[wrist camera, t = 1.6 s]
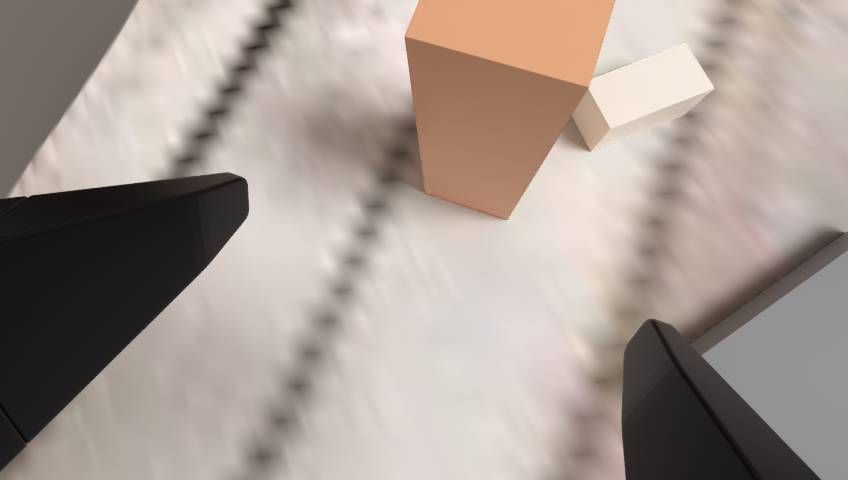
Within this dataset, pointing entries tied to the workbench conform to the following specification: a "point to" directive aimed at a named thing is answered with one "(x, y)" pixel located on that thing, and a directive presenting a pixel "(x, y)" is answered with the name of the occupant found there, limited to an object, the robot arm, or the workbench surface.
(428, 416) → the workbench surface
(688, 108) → the off-white brick
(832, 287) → the charcoal board
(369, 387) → the workbench surface
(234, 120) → the workbench surface
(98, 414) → the workbench surface
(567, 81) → the terracotta brick
